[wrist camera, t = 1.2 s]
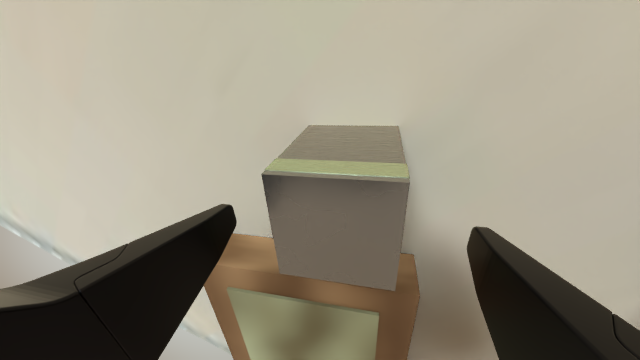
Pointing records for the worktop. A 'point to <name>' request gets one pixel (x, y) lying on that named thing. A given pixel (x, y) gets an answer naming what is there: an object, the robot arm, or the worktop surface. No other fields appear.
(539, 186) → the worktop surface
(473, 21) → the worktop surface
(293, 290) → the platform
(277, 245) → the grey box
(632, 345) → the robot arm
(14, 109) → the worktop surface
